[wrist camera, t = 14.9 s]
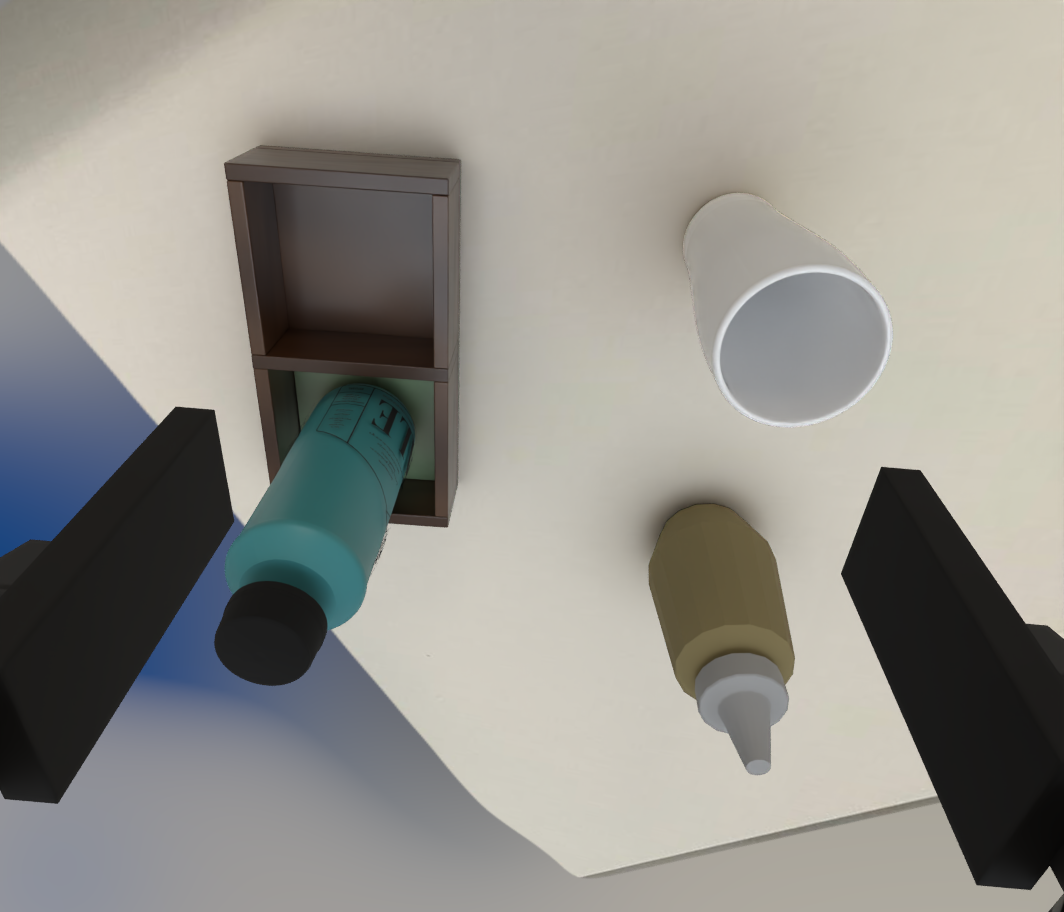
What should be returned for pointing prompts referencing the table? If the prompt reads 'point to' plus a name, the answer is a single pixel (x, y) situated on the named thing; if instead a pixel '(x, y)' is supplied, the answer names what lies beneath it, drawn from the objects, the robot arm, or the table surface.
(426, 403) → the divided box
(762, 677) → the squeeze bottle
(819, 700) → the table surface
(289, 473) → the beverage bottle
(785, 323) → the drinking glass
